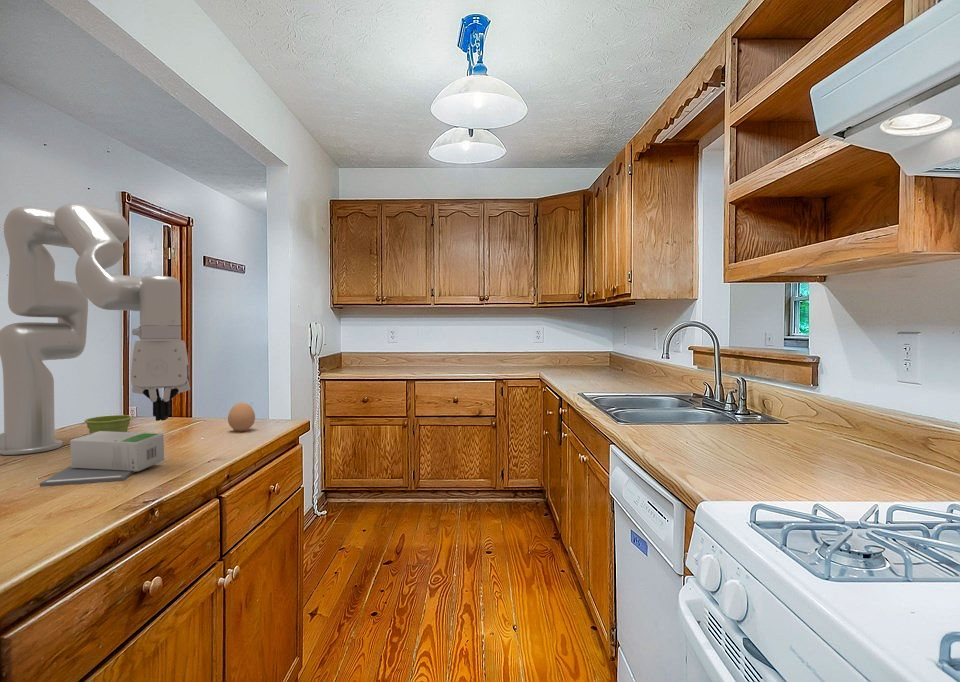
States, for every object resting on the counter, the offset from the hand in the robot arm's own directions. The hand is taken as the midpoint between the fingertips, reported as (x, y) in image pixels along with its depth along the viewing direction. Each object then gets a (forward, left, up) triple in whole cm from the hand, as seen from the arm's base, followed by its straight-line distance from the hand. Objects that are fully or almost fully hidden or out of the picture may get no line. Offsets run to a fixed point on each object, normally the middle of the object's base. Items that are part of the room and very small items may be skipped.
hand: (161, 419), depth 112 cm
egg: (+11, +41, -11) cm, 44 cm away
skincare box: (-2, +1, -7) cm, 8 cm away
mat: (-12, 0, -11) cm, 16 cm away
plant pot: (-16, +20, -11) cm, 28 cm away
